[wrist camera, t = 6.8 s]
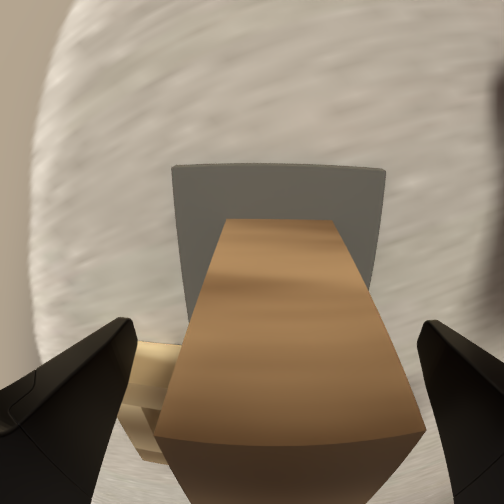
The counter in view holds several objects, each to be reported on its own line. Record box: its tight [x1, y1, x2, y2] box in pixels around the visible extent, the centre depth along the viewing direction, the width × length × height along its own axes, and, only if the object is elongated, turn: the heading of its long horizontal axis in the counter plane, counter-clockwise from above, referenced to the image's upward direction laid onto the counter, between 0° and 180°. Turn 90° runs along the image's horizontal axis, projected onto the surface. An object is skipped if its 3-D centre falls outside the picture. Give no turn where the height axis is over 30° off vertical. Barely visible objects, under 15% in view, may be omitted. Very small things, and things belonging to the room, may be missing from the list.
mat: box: [171, 163, 386, 323], centre depth 13 cm, size 8×8×1 cm
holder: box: [117, 341, 182, 465], centre depth 16 cm, size 9×9×3 cm
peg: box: [153, 219, 426, 504], centre depth 9 cm, size 4×4×9 cm
